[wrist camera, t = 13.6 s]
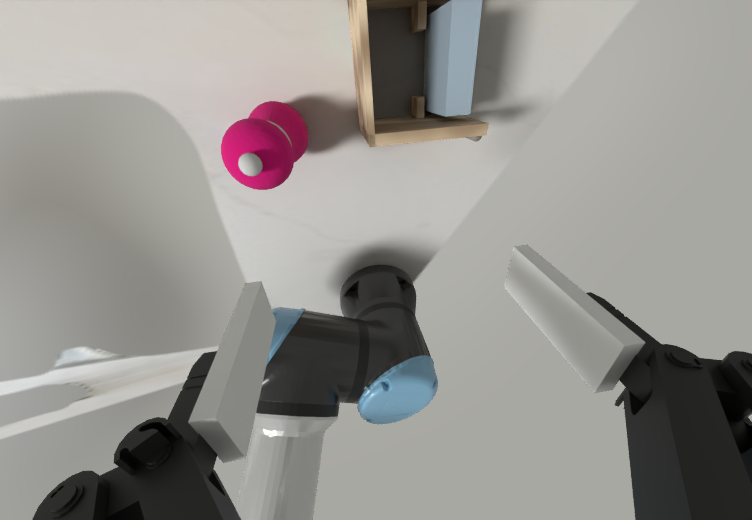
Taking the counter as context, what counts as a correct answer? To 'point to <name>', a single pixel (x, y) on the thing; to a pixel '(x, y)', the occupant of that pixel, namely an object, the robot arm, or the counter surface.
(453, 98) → the door
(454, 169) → the counter surface
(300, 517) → the robot arm
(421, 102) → the cabinet
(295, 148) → the pepper mill
